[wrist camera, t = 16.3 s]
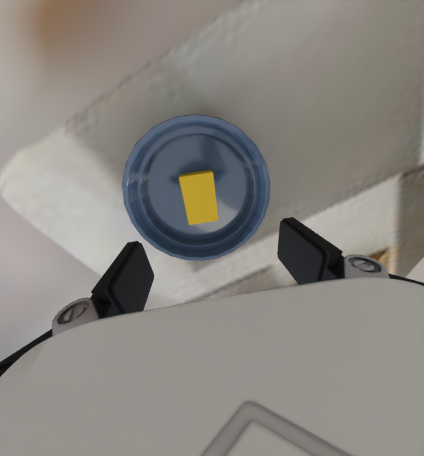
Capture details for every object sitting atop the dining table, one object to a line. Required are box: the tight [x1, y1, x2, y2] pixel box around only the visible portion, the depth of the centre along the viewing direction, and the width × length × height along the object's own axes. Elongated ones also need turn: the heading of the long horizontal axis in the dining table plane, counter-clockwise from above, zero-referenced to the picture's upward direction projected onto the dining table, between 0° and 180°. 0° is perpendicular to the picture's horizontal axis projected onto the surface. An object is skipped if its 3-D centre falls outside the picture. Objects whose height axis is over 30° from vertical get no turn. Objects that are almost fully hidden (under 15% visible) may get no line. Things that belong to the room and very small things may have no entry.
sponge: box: [179, 170, 219, 225], centre depth 23 cm, size 7×4×3 cm, turn 7°
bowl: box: [122, 114, 270, 261], centre depth 23 cm, size 19×19×4 cm
